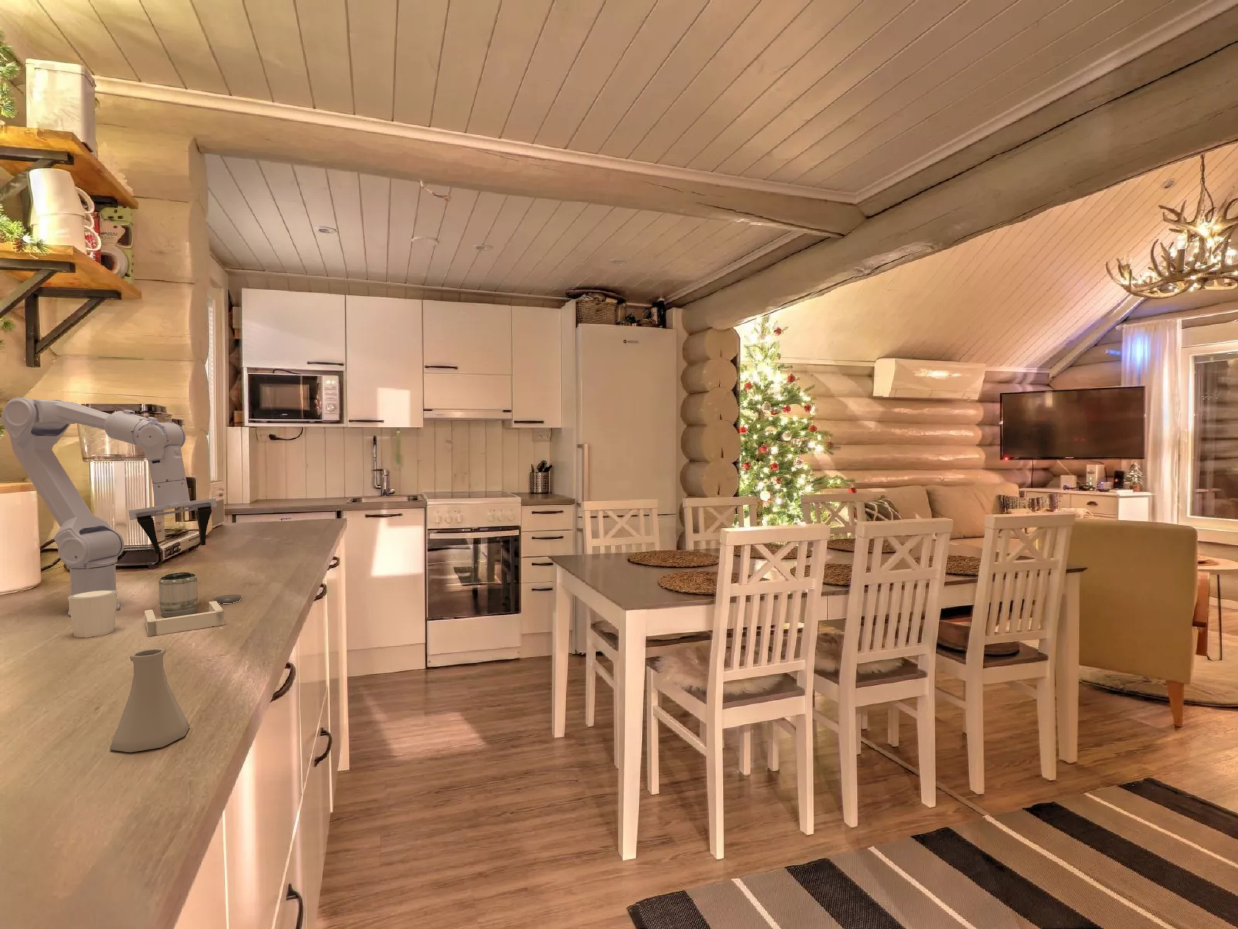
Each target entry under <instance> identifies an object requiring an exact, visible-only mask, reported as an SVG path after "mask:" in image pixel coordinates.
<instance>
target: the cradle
mask: <svg viewBox="0 0 1238 929" xmlns="http://www.w3.org/2000/svg"><path fill="white" fill-rule="evenodd" d="M144 625H145V630H146V633H147V636H148V637H154V636H159V635H160V636H161V635H168V634H173V633H174V634H175V633H181V632H187V631H192V630H193V631H194V630H200V629H206V628H213V627H212V626H214V627H219V626H220V627H221V626H225V611H224V610H223V608H222V607H221V605H219V604H218V603H217V601H214V600H212V601H208V611H206V612H200V613H194V614H192V615H185V616H178V617H171V618H165V617H163V618H157V619H156V615H155V613H154V610H153V609H146V610H144Z"/></svg>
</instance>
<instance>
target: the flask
mask: <svg viewBox="0 0 1238 929" xmlns="http://www.w3.org/2000/svg"><path fill="white" fill-rule="evenodd" d="M166 651H167V649H166V648H160V647H155V648H153V647H152V648H145V649H140V650H138V651H135V652H133V653H131V655H130V656H129V660H130V661H131V662H132V663H133V676H132V682H131V686H130V687H131V688H130V692H129V695H128V698H127V701H126V703H125V705H124V708H123V709H124V710H123V712H122V715H121V718H120V720H119V723H118V724H117V727H116V730H115V733H114V736H113V738H112V741H111V743H110V745H109V746H110V747H109V750H111V751H118V752H126V753H135V752H139V751H146V750H147V751H148V750H153V749H158V748H163V747H165V746H167V745H169V744H172V743H174V742H175V741H177V740H180V739H181V738H183V737H186V735H187V732H188V731H189V728H190V726H191V725H190V723H189V721H188V719H187V717H186V715H185V714H184V712H183V710H182V708H181V706H180V705H179V703H178V700H177V699H176V697H175V695H174V693H173V691H172V689H171V686H170V685H169V683H168V678H167V675H166V671H165V668H164V656H165V654H166V653H167V652H166Z"/></svg>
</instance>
